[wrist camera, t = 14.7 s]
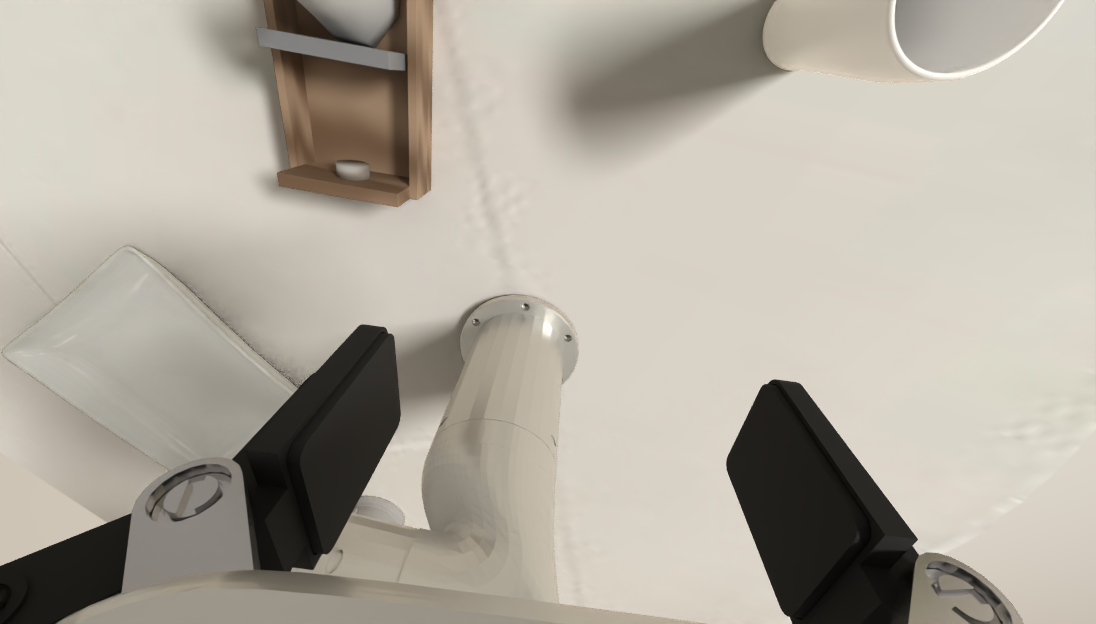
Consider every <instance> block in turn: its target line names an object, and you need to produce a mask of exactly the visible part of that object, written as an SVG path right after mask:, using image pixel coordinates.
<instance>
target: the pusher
mask: <svg viewBox="0 0 1096 624" xmlns="http://www.w3.org/2000/svg"><path fill="white" fill-rule="evenodd" d="M256 31H257V37H258V43H259V46H263V47H268V48H274V49H279V50H285V51H290V52H296V53H301V54H306V55H312V56H317V57H323V58H328V59H334V60H339V61H344V62H350V63H355V64H361V65H366V66H372V67H377V68H382V69H388V70H404V71H408V55H407V54H404V53H399V52H393V51H388V50H382V49H377V48H372V47H366V46H361V45H355V44H350V43H345V42H339V41H334V40H328V39H323V38H318V37H312V36H307V35H301V34H295V33H289V32H283V31H277V30H271V29H265V28H259V27H256Z"/></svg>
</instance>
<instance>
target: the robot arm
mask: <svg viewBox="0 0 1096 624" xmlns="http://www.w3.org/2000/svg"><path fill="white" fill-rule="evenodd" d="M524 303H526V304H528V305H525V304H524ZM477 319H478V320H477ZM460 350H461V356H462V358H463V361H464V363H465V364H464V366H463V369H462V371H461V374H460V376H459V379H458V381H457V384H456V386H455V388H454V391H453V393H452V396H451V398H450V401H449V403H448V405H447V408H446V410H445V413H444V415H443V418H442V420H441V423H440V425H439V427H438V430H437V432H436V435H435V437H434V440H433V442H432V445H431V447H430V450H429V452H428V455H427V457H426V460H425V463H424V467H423V473H422V499H423V504H424V509H425V513H426V517H427V520H428V523H429V526H430V529H431V530H426V529H421V528H420V529H416V528H412V527H408V526H404V525H400V524H396V523H392V522H388V521H384V520H380V519H376V518H372V517H368V516H364V515H360V514H356V513H352V512H353V510H354V508H355V506H356V504H357V503H358V501H359V499H360V497H361V495H362V493H363V491H364V489H365V488H366V486H367V484H368V482H369V480H370V478H371V476H372V474H373V473H374V471H375V469H376V467H377V465H378V463H379V461H380V459H381V458H382V456H383V454H384V452H385V450H386V448H387V446H388V444H389V443H390V441H391V439H392V437H393V435H394V433H395V431H396V429H397V427H398V425H399V422H400V416H401V412H400V400H399V388H398V377H397V365H396V354H395V342H394V336H393V335H392V334H388V332H387V329H386V328H385V327H378V326H371V325H360V326H359V327H357V329H356V330H355V331H354V332H353V333H352V334H351V335H350V336H349V337H348V338H347V339H346V340H345V342H344V343H343V344H342V345H341V346H340V347H339V348H338V349H337V350H336V351H335V352H334V353H333V354H332V356H331V357H330V358H329V359H328V360H327V361H326V362H325V363H324V364H323V365H322V366H321V367H320V369H319V370H318V371H317V372H316V373H313V374H312V375H311V376H310V377H308V379H307V380H306V381H305V382H304V383H303V384H302V385H301V386H300V387H299V388H298V389H297V390H296V391H295V392H294V394H293V395H292V396H291V397H290V398H289V399H288V400H287V401H286V402H285V403H284V404H283V405H282V406H281V407H280V408H279V410H278V411H277V412H276V413H275V414H274V415H273V416H272V417H271V418H270V419H269V420H268V421H267V422H266V423H265V425H264V426H263V427H262V428H261V429H260V430H259V431H258V432H257V433H256V434H255V435H254V436H253V437H252V438H251V440H250V441H249V442H248V443H247V444H246V445H245V446H244V447H243V448H242V449H241V450H240V451H239V452H238V453H237V455H236V456H235V457H234V458H233V459H232V460H231V459H227V458H222V457H211V458H203V459H199V460H195V461H190V462H188V463H186V464H183V465H181V466H178V467H176V468H174V469H172V470H170V471H169V472H167V473H165V474H164V475H162V476H160V477H159V478H157V479H156V480H155V481H154V482H153V483H151V484H150V485H149V486H148V487H147V488H146V489H145V490H144V491H143V492H142V494H141V495H140V496H139V497H138V499H137V500H136V502H135V505H134V508H133V511H132V513H131V514H129V515H126V516H124V517H121V518H119V519H116V520H114V521H111V522H109V523H106V524H104V525H101V526H99V527H97V528H94V529H91V530H89V531H86V532H84V533H81V534H79V535H77V536H74V537H71V538H69V539H66V540H64V541H62V542H59V543H57V544H54V545H51V546H49V547H47V548H44V549H42V550H39V551H37V552H34V553H32V554H29V555H27V556H24V557H22V558H19V559H17V560H14V561H12V562H10V563H7V564H4V565H2V566H0V624H704V623H697V622H690V621H683V620H676V619H668V618H661V617H653V616H646V615H639V614H631V613H624V612H616V611H609V610H602V609H594V608H587V607H579V606H572V605H564V604H559V596H558V587H557V577H556V566H555V550H554V504H555V484H556V464H557V448H558V433H559V417H560V401H561V385H562V384H563V383H564V382H565V381H566V380H567V379H568V378H569V377H570V376H571V374H572V373H573V371H574V369H575V367H576V364H577V361H578V353H579V350H578V339H577V335H576V332H575V330H574V328H573V326H572V324H571V323H570V321H569V320H568V319H567V317H566V316H565V315H564V314H563V313H561V312H560V311H559V310H558V309H557V308H555V307H554V306H552V305H550V304H549V303H547V302H545V301H542V300H540V299H537V298H534V297H529V296H524V295H508V296H501V297H498V298H494V299H491V300H489V301H487V302H485V303H483V304H482V305H480V306H479V307H478V308H477V309H475V310H474V311H473V312H472V314H471V315H470V316H469V318H468V319H467V321H466V323H465V325H464V327H463V329H462V333H461V336H460ZM726 466H727V472H728V475H729V477H730V480H731V482H732V485H733V487H734V490H735V492H736V495H737V498H738V500H739V503H740V505H741V508H742V510H743V513H744V516H745V518H746V521H747V523H748V526H749V528H750V531H751V533H752V536H753V539H754V541H755V544H756V546H757V549H758V551H759V554H760V557H761V559H762V562H763V564H764V567H765V569H766V572H767V574H768V577H769V580H770V582H771V585H772V587H773V590H774V592H775V595H776V598H777V600H778V603H779V605H780V607H781V609H782V611H783V612H784V614H785V615H787V616H789V617H790V619H791V621H792V624H1023V621H1022V618H1021V617H1020V615H1019V614H1018V612H1017V611H1016V609H1015V608H1014V606H1013V604H1012V603H1011V602H1010V601H1009V600H1008V599H1007V598H1006V597H1005V596H1004V595H1003V593H1002V592H1001V591H1000V590H999V589H998V588H997V587H995V586H994V585H993V584H992V583H991V582H990V581H988V580H987V579H986V578H985V577H984V576H982V575H981V574H979V573H978V572H976V571H975V570H973V569H972V568H970V567H969V566H967V565H965V564H964V563H962V562H960V561H958V560H956V559H954V558H952V557H949V556H945V555H942V554H939V553H927V552H926V553H924V554H922V555H919V554H918V553H917V552H916V550H915V549H914V548H913V546H912V545H913V544H914V543H915V542H916V541H917V540H918V539H917V537H916V536H915V535H914V533H913V532H912V531H911V529H910V528H909V527H908V526H907V524H906V523H905V522H904V520H903V519H902V518H901V516H900V515H899V514H898V512H897V511H896V510H895V508H894V507H893V506H892V504H891V503H890V502H889V500H888V499H887V498H886V496H885V495H884V494H883V492H882V491H881V490H880V488H879V487H878V486H877V484H876V483H875V482H874V480H873V479H872V478H871V476H870V475H869V474H868V472H867V471H866V470H865V469H864V467H863V466H862V465H861V463H860V462H859V461H858V459H857V458H856V457H855V455H854V454H853V453H852V451H851V450H850V449H849V447H848V446H847V445H846V443H845V442H844V441H843V439H842V438H841V437H840V435H839V434H838V433H837V431H836V430H835V429H834V427H833V426H832V425H831V423H830V422H829V421H828V419H827V418H826V417H825V416H824V414H823V413H822V412H821V410H820V409H819V408H818V406H817V405H816V404H815V402H814V401H813V400H812V398H811V397H810V396H809V394H808V393H807V392H806V390H805V389H804V388H803V386H802V385H801V384H800V383H797V382H790V381H783V380H772V381H770V382H769V383H768V384H764V385H763V386H762V387H761V389H760V391H759V393H758V395H757V397H756V399H755V401H754V403H753V405H752V407H751V409H750V411H749V414H748V416H747V418H746V420H745V422H744V424H743V426H742V428H741V430H740V432H739V434H738V436H737V438H736V440H735V443H734V445H733V447H732V449H731V451H730V453H729V455H728V457H727V462H726Z"/></svg>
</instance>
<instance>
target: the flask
mask: <svg viewBox="0 0 1096 624" xmlns="http://www.w3.org/2000/svg"><path fill="white" fill-rule="evenodd" d="M297 1H298V2H299V3H300V4H302V5H303V6H304V7H305V8H306V9H307V10H308V11H309V12H310V13H311V14H312V15H313V16H314V17H315V18H316V19H317V20H318V21H319V22H320V23H321V24H322V25H323V26H324V27H325V28H326V29H327V30H328V31H329V32H330V33H331V34H332V35H333V36H334V37H335V38H336V39H338V40H342V41H346V42H351V43H355V44H359V45H364V46H368V47H372V48H376V47H377V46H378V45H379V43H380V42H381V40H382V39H383V38H384V36H385V35H386V33H387V32H388V31H389V29H390V28H391V27H392V25H393V24H394V22H395V21H396V20H397V18H398V17H399V0H297Z"/></svg>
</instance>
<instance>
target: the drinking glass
mask: <svg viewBox="0 0 1096 624" xmlns="http://www.w3.org/2000/svg"><path fill="white" fill-rule="evenodd" d="M1063 2H1064V0H776V1H775V2H774V4H773V5H772V7H771V9H770V10H769V12H768V15H767V17H766V20H765V23H764V28H763V46H764V50H765V53H766V55H767V57H768V58H769V60H770V61H771V62H772V63H773V64H774V65H776V66H777V67H779V68H781V69H785V70H790V71H800V70H802V71H809V72H815V73H821V74H827V75H833V76H839V77H844V78H850V79H856V80H862V81H870V82H880V83H920V82H933V81H950V80H956V79H961V78H964V77H968V76H971V75H974V74H977V73H979V72H981V71H984V70H986V69H988V68H990V67H992V66H994V65H996V64H998V63H999V62H1001V61H1003V60H1004V59H1006V58H1007V57H1009V56H1010V55H1012V54H1013V53H1014V52H1016V51H1017V50H1018V49H1020V48H1021V47H1022V46H1023V45H1025V44H1026V43H1027V42H1028V41H1029V40H1030V39H1032V38H1033V37H1034V36H1035V35H1036V34H1037V33H1038V32H1039V31H1040V30H1041V29H1042V28H1043V27H1044V26H1045V24H1046V23H1047V22H1048V21H1049V20H1050V19H1051V18H1052V16H1053V15H1054V14H1055V13H1056V11H1057V10H1058V9H1059V7H1060V6H1061V5H1062V3H1063Z"/></svg>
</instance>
